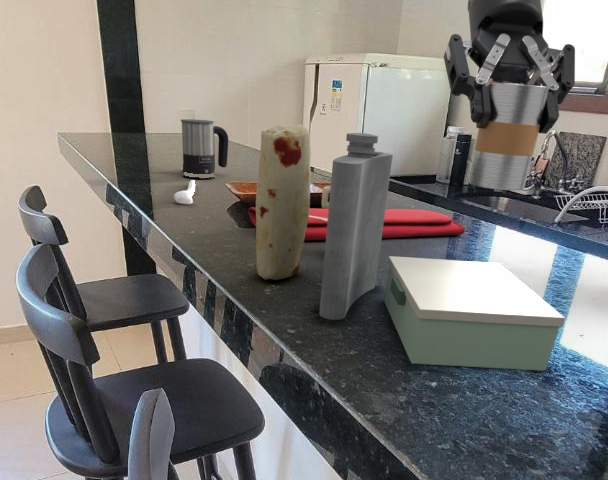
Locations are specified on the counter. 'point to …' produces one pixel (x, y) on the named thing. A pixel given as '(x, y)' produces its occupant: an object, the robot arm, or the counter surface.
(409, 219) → the dish drying mat
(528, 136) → the tin can
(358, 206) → the hip flask
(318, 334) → the counter surface
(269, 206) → the food model
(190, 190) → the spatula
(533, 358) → the box
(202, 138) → the milk frother
